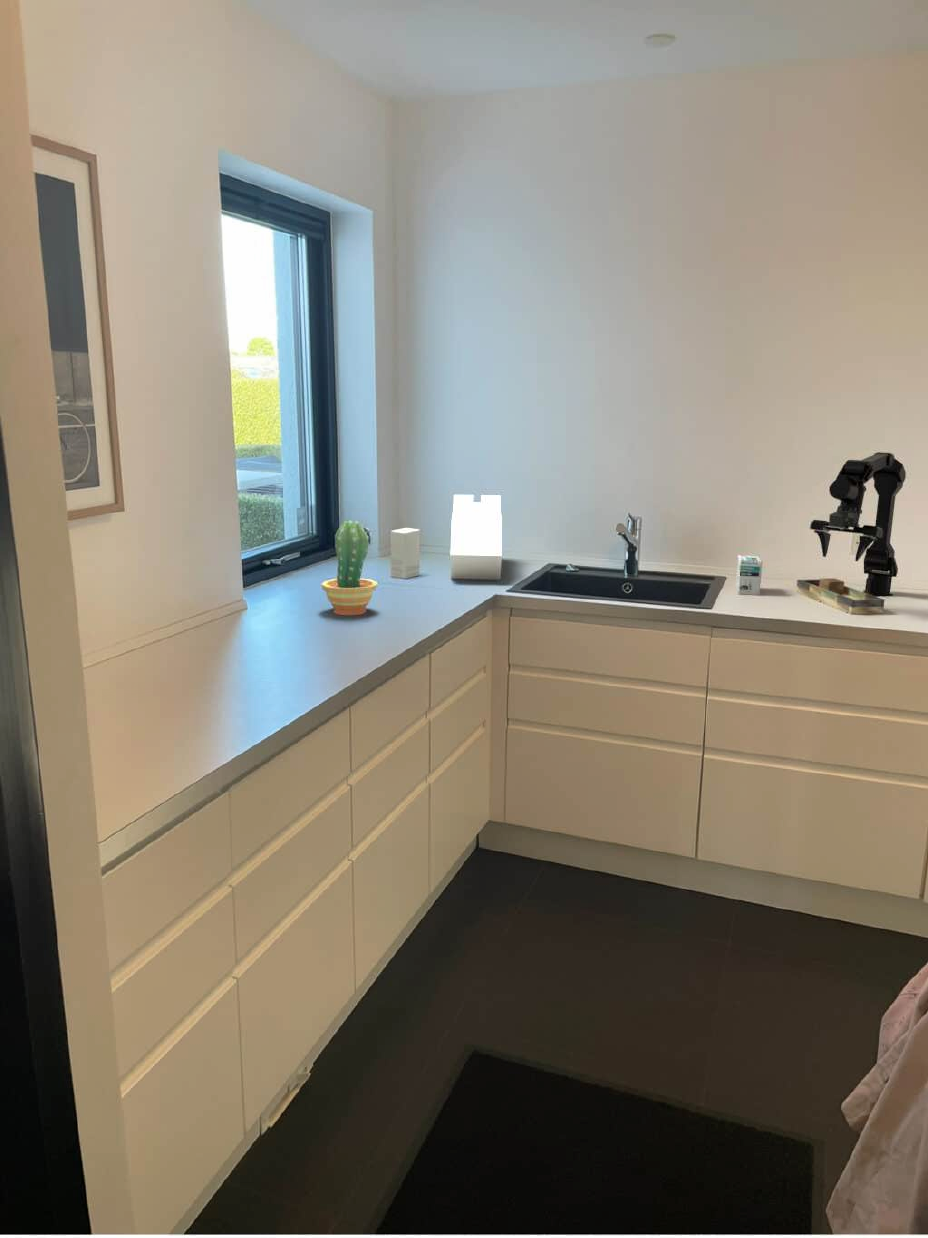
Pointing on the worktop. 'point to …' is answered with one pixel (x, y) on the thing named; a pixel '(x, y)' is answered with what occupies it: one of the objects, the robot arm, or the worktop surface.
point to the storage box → (476, 538)
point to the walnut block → (832, 585)
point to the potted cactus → (350, 571)
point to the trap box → (842, 598)
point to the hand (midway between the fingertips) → (840, 558)
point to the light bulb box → (748, 575)
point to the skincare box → (405, 553)
